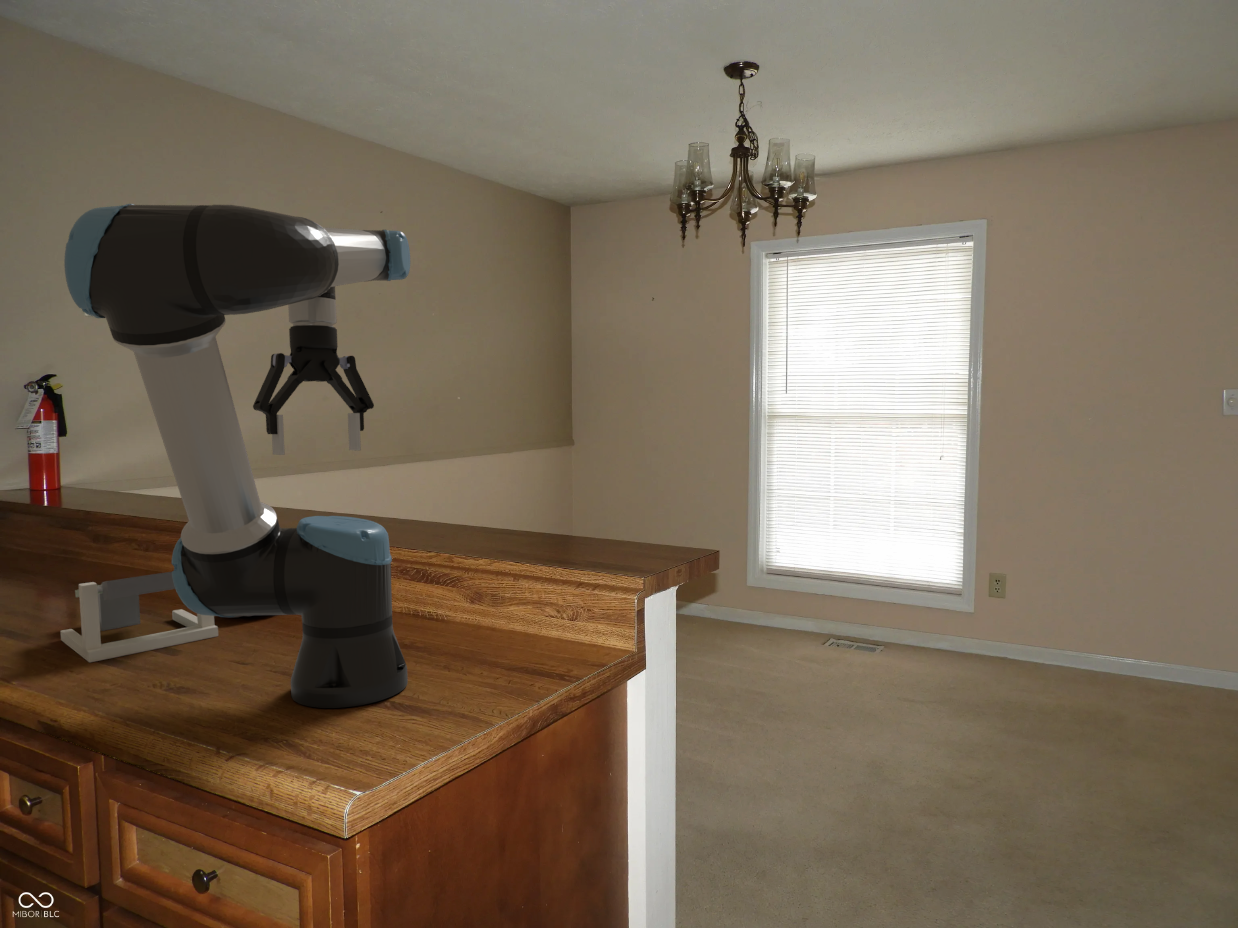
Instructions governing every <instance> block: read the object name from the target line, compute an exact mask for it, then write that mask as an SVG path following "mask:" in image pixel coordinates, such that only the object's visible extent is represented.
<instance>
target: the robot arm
mask: <svg viewBox="0 0 1238 928" xmlns="http://www.w3.org/2000/svg"><path fill="white" fill-rule="evenodd" d="M410 251H411V250H410V245H409V241H408V237H407V236H406V234H405V233H404V232H402V231H401V230H387V229H382V230H381V229H380V230H377V229H375V230H374V229H373V230H367V229H355V228H353V229H352V228H341V227H340V228H339V227H324V226H322V225H320V224H319V223H317V222H315V221H314V220H311V219H310V218H307V217H303V216H294V215H289V214H285V213H280V212H274V211H270V210H264V209H260V208H254V207H249V206H244V205H243V206H242V205H234V204H211V205H210V204H208V205H206V204H205V205H204V204H201V205H199V204H197V205H194V204H193V205H192V204H191V205H189V204H182V205H180V204H178V205H177V204H175V205H174V204H134V203H126V204H123V205H122V204H121V205H114V206H113V205H109V206H102V207H101V206H100V207H95V208H91V209H89V210H87V211H86V212H84V213H82V214H81V215H80V216H79V217H78V218H77V219H76V221H75V222H74V224H73V226H72V227H71V229H70V231H69V234H68V239H67V242H66V243H65V251H64V263H63V264H64V265H63V266H64V277H65V281H66V284H67V288H68V291H69V294H70V297H71V299H72V300H73V302H74V304H75V305H76V306H77V307H78V309H81V311H82V312H83V313H85V314H86V315H88V316H92V317H94V318H95V319H105V320H106V322H107V325H108V328H109V331H110V333H111V334H110V335H111V336H112V339H113V341H114V342H115V343H116V344H118V345H119V346H122V347H124V348H126V349H128V350H130V351H132V352H133V355H134V357H135V360H136V363H137V366H138V369H139V373H140V376H141V378H142V379H141V380H142V382H143V385H144V387H145V391H146V394H147V397H148V400H149V402H150V407H151V409H152V413H153V415H154V418H155V421H156V424H157V427H158V431H159V433H160V437H161V440H162V443H163V445H164V448H165V452H166V454H167V458H168V461H169V463H170V467H171V471H172V473H173V477H174V479H175V482H176V485H177V488H178V491H179V495H180V497H181V501H182V504H183V507H184V509H185V512H186V513H185V514H186V516H187V519H188V521H187V522H186V524H184V526H183V528H182V530H181V533H180V538H179V539H178V540H177V541H176V544H175V545H174V548H173V551H172V556H171V565H172V566H173V571H171V572H172V578H173V583H174V586H175V589H174V590H175V591H176V594H177V595H178V598H179V599H180V600H181V602H182V603H183V605H184V606H185V607H187V609H188V610H190V611H191V612H194V613H195V614H197V613H198V614H201V615H210V616H214V617H220V618H227V617H234V616H240V617H243V616H242V615H253V616H292V615H295V616H296V615H297V616H298V615H299V616H301V625H302V640H301V642H300V646H299V650H298V654H297V656H296V660H295V663H294V664H295V665H294V668H293V671H292V674H291V678H290V693H291V695H290V696H291V699H292V700H293V701H294V702H296V703H298V704H299V705H303V706H306V707H310V708H312V707H313V708H322V709H335V708H336V709H337V708H350V707H357V706H363V705H368V704H372V703H377V702H380V701H383V700H386V699H388V698H391V697H393V696H395V695H397V694H399V693H400V692H402V691H403V690H405V688H406V687H407V686H408V683H409V682H408V666H407V663H406V660H405V658H404V654H403V653H402V650H401V647H400V645H399V642H398V639H397V637H396V634H395V631H394V627H393V626H394V625H393V602H392V601H393V600H392V599H393V598H392V597H393V596H392V561H393V559H392V555H391V552H390V551H391V549H390V540H389V538H390V537H389V532H387V530H386V528H385V527H384V526H383V525H381V524H380V523H378V522H375V521H373V520H370V519H366V518H365V519H364V518H359V517H353V516H342V515H341V516H340V515H329V516H328V515H327V516H325V515H313V516H307V517H303V518H301V519H300V520H299V521H298V523H297V525H296V527H281V525H280V523H279V519H278V515H277V512H276V511H275V509H274V508H273V507H272V506H271V505H269V504H266V503H264V502H261V500H260V496H259V492H258V489H257V484H256V481H255V476H254V474H253V470H252V467H251V466H252V465H251V463H250V460H249V459H250V458H249V456H248V452H247V448H246V444H245V440H244V437H243V434H242V430H241V426H240V423H239V419H238V415H237V411H236V408H235V404H234V399H233V396H232V393H231V390H230V385H229V383H228V378H227V375H226V370H225V366H224V363H223V360H222V359H223V358H222V355H221V353H220V352H221V351H220V348H219V345H218V341H217V335H218V334H219V333H220V331H221V330H222V328H223V327H224V326H225V325H226V322H227V321H226V316H231V315H233V316H235V315H246V314H253V313H258V312H259V313H260V312H263V311H268V310H273V309H276V308H280V307H284V306H288V322H289V323H290V324H292V326H290V327H289V329H288V333H289V335H288V337H289V349H290V354H289V355H287V354H285V353H283V352H280V353H279V352H278V353H273V354H271V356H270V366H269V369H268V372H267V373H266V376H265V379H264V381H263V382H262V385H261V386H260V387H261V388H260V390H259V392H258V394H257V396H256V399H255V400H254V403H253V405H252V408H253V410H254V411H258V412H261V413H262V414H263V415H265V424H266V425H265V427H266V428H265V429H266V430H265V431H266V433H267V435H271V442H272V445H271V446H272V448H271V449H272V455H273V456H275V455H276V456H285V431H284V414H278V413H279V411H280V410H281V409H282V408H283V407H284V406H285V404H286V403H287V401H288V400H289V399H290V397H291V396H292V395H293V393H295V391H296V389H297V388H298V387H299V386H300V385H301V384H302V383H303V382H320V383H321V382H326V383H327V384H328V385H330V386H331V388H333V390H334V391H335V392H336V393H337V394H338V396H339V398H341V400H342V401H343V402H344V403H345V404H346V406H347V407H348V408H349V409H350V410H351V412H348V413H347V426H348V428H347V429H348V430H347V431H348V432H347V433H348V451H357V452H358V451H362V446H361V445H362V443H361V432H364V429H365V415H364V414H365V413H366V412H368V410H372V409H373V408H374V407H375V405H374V402H373V399H372V398H371V396H370V394H369V392H368V389H367V387H366V385H365V383H364V381H363V378H362V376H361V375H360V372H359V371H358V369H357V364H356V358H355V356H354V355H344V356H342V357H339V355H338V347H339V346H338V329H336V327H334V325H336V324H337V321H338V319H337V317H338V316H337V300H336V287H338V286H339V287H340V286H345V285H351V284H356V283H357V284H358V283H362V282H364V283H367V282H372V281H379V282H380V281H386V282H391V281H400V280H401V281H402V280H405V279H406V278H408V277H409V273H410V270H411V252H410ZM288 364H289V365H290V367H291V368H292V369H293V370H292V372H291V373H290V374H289V375H288V377H287V380H286V381H285V382H284V384H282V386H281V387H280V388H279V390H278V391H277V392H276V394H275V395H274V396H273V394H274V393H275V390H276V388H277V386H278V384H279V382H280V379H281V378H282V375H283V372H284V370H285V368H286V367H287V366H288ZM338 367H340V368H341V369H342V370H343V373H344V375H345V377H346V379H347V381H348V383H349V385H350V387H351V389H352V390H351V389H350V388H349V386H348V385H347V384H346V382H345V381H344V380H343V376H342V375H341V374H340V373H339V372H338V371H337V368H338ZM272 397H273V398H272Z"/></svg>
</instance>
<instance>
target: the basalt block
mask: <svg viewBox="0 0 1238 928" xmlns="http://www.w3.org/2000/svg"><path fill="white" fill-rule="evenodd" d="M98 606H99V622H100V632H101V631H102V632H104V631H109V630H114V629H120V628H126V627H131V626H135V625H141V613H140V611H141V609H140V595H134V596H127V597H121V598H115V599H109V600H104V598H103V593H102V594H98Z"/></svg>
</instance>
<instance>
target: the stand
mask: <svg viewBox="0 0 1238 928" xmlns="http://www.w3.org/2000/svg"><path fill="white" fill-rule="evenodd" d="M97 585H98V583H96V582H94V581H92V582H91V581H90V582H85V583H84V582H83V583H78V590H79V597H78V598H79V611H80V624H81V625H80V627H81V634H80V633H78V632H77V631H75V630H74V629H72V628H69V629H63V630H60V641H62V642H63V643H64V644H65V645H66V646H68V647H69V648H70V649H72V650H73V651H75V653H77V654H78V655H79V656H80V657H82V658H83V659H85V660H86V661H87V662H88V663H93V662H98V661H99V662H101V661H103V660H104V661H105V660H108V659H109V660H110V659H113V658H118V657H123V656H129V655H133V654H138V653H142V652H143V653H144V652H148V651H152V650H158V649H162V648H168V647H171V646H177V645H183V644H187V643H192V642H196V641H201V640H205V639H211V638H215V637H219V627H218V625H215V616H210V615H201V614H198V613H196V615H194V614H192V613H191V612H189V611H186V610H184V609H182V608H181V609H174V610H172V611H171V612H172V613H171V614H172V616H171V617H172V621H175V622H177V623H179V624H180V625H182V626H185V627H181V628H177V629H173V630H168V631H161V632H157V633H151V634H146V635H141V636H136V637H129V638H125V639H121V640H115V641H111V642H110V641H109V642H106V643H102V641H101V640H102V639H101V630H100V622H99V606H98V590H97Z"/></svg>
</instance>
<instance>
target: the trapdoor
mask: <svg viewBox="0 0 1238 928" xmlns="http://www.w3.org/2000/svg"><path fill="white" fill-rule="evenodd" d="M172 572H173V571H168V572H160V573H153V574H147V575H145V574H144V575H139V576H131V577H127V578H119V579H113V580H111V579H110V580H105V581H102V582H101V584H97V590H98V594H102V593H103V598H104V600H109V599H115V598H121V597H127V596H134V595H139V596H140V595H145V594H150V593H158V592H163V591H170V590H176V589H175V586H174V583H173V578H172ZM74 594H75V598H79V589H75V590H74Z"/></svg>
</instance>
